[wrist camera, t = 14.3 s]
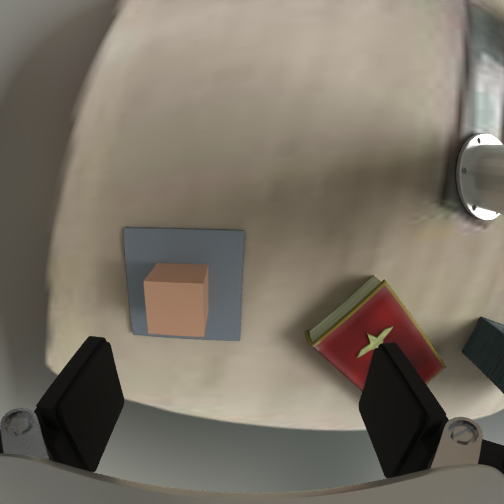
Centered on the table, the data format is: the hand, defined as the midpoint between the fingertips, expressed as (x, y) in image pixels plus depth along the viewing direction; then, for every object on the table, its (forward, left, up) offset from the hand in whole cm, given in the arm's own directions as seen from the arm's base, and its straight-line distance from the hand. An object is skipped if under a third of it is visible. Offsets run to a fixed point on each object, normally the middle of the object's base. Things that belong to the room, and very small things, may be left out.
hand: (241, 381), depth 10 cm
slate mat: (+6, +7, -26) cm, 28 cm away
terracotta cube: (+6, +7, -26) cm, 28 cm away
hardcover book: (-21, +16, -27) cm, 38 cm away
